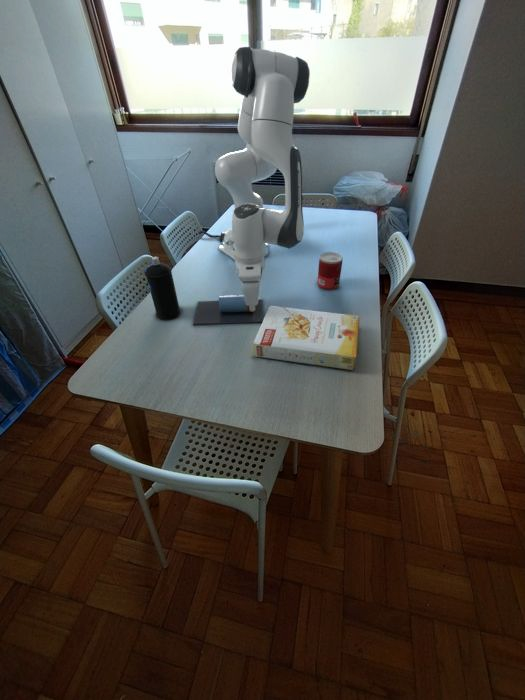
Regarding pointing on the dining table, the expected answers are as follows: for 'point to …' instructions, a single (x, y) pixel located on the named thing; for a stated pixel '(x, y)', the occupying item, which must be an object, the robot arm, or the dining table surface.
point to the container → (233, 304)
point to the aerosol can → (162, 290)
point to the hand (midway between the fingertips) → (252, 301)
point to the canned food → (329, 270)
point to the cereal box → (308, 337)
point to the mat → (225, 314)
